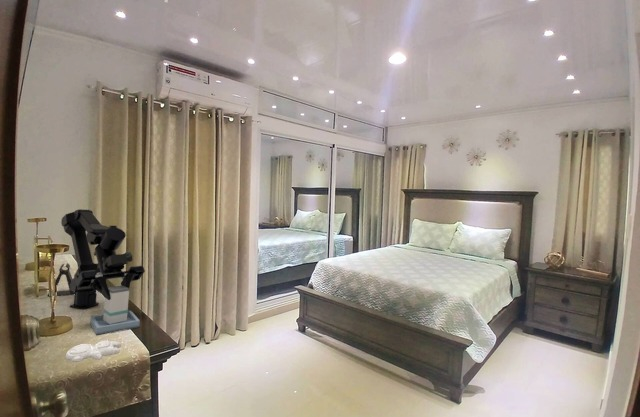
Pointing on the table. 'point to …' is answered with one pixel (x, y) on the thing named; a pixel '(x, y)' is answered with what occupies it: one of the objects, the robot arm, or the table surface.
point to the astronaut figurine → (92, 350)
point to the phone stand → (69, 280)
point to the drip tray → (113, 324)
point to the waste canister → (116, 305)
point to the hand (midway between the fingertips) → (118, 297)
